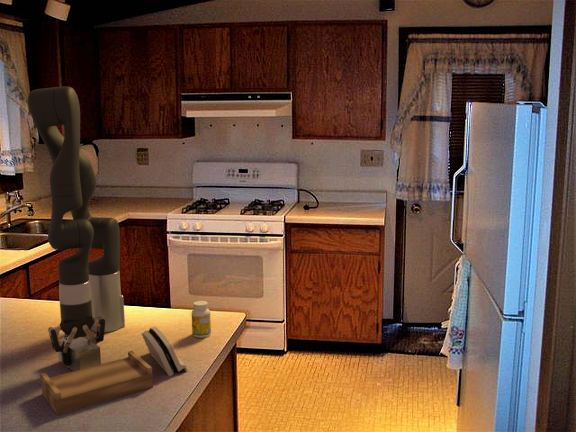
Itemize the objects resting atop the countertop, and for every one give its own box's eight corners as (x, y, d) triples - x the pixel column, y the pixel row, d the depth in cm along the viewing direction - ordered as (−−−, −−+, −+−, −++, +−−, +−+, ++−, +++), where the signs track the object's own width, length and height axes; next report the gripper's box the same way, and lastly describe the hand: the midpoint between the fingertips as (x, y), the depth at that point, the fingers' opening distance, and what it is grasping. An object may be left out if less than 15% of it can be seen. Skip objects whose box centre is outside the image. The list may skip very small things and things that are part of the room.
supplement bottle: (213, 336, 176) (212, 304, 174) (194, 339, 174) (193, 307, 172) (208, 330, 181) (207, 298, 179) (190, 332, 179) (189, 301, 177)
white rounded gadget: (188, 371, 153) (174, 339, 150) (171, 381, 151) (157, 348, 148) (167, 348, 168) (153, 317, 164) (151, 357, 166) (137, 326, 162)
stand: (42, 393, 142) (40, 373, 141) (132, 369, 155) (131, 350, 154) (57, 415, 132) (55, 393, 131) (152, 387, 145) (151, 367, 144)
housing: (79, 355, 163) (77, 334, 162) (101, 369, 154) (99, 347, 153) (59, 361, 159) (57, 339, 158) (80, 376, 151) (79, 353, 150)
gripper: (98, 289, 160) (102, 350, 164) (41, 300, 152) (46, 363, 155) (109, 297, 155) (112, 359, 158) (50, 308, 146) (55, 374, 149)
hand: (79, 361), depth 156 cm, fingers closed on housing, 6 cm apart
